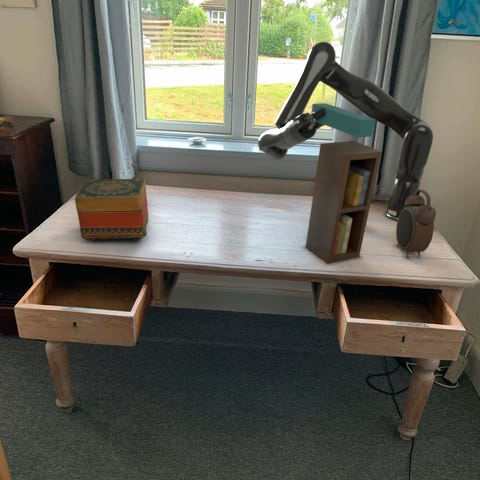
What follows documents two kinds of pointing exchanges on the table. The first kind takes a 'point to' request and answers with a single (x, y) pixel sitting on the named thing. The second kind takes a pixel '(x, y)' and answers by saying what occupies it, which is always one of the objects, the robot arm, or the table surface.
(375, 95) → the robot arm
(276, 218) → the table surface
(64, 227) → the table surface
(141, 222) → the decorative box
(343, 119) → the pencil box
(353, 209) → the bookcase
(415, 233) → the alarm clock
